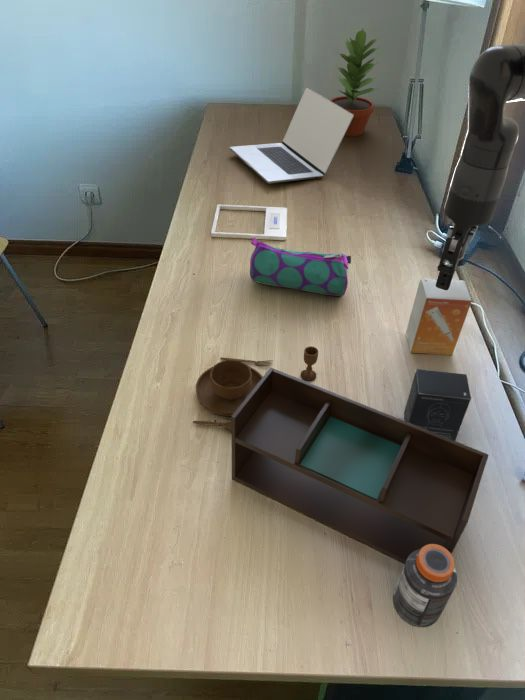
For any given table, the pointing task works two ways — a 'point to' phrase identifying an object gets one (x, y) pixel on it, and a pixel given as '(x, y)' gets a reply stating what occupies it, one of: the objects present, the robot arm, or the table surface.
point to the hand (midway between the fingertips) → (448, 275)
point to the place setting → (237, 384)
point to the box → (438, 402)
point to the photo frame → (273, 223)
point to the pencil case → (299, 269)
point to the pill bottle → (425, 585)
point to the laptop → (301, 142)
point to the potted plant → (356, 84)
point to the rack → (354, 466)
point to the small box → (437, 317)
